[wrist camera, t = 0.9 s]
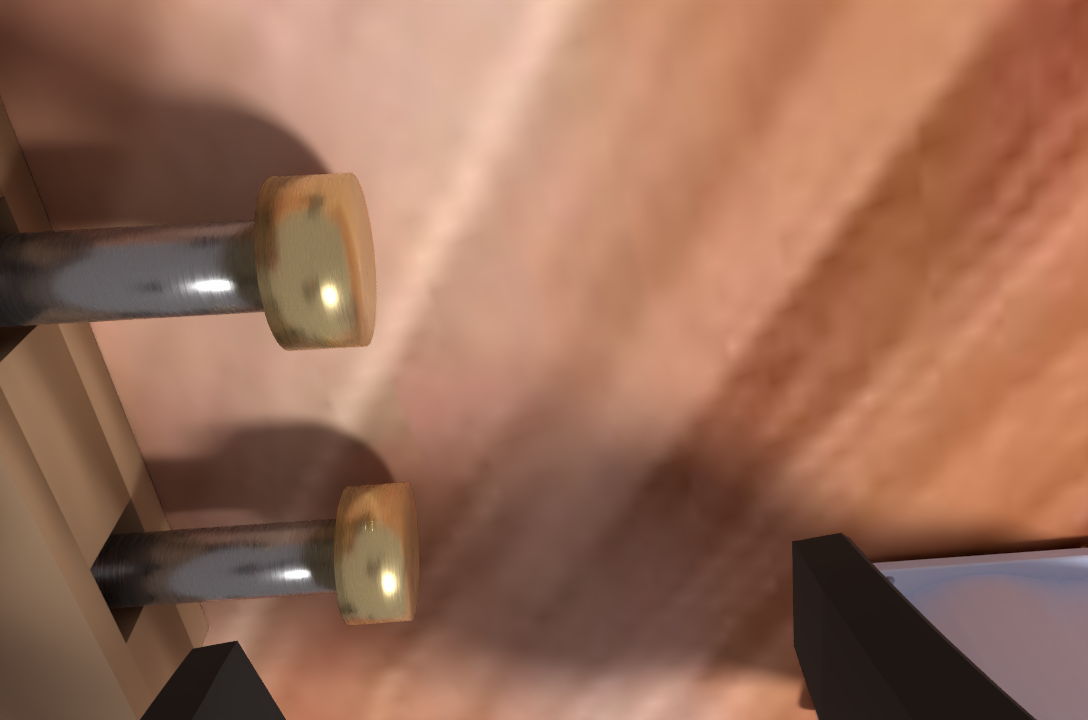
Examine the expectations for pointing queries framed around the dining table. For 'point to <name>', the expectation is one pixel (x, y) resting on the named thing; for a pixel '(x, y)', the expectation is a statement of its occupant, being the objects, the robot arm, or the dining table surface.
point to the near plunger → (211, 268)
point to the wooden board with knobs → (70, 516)
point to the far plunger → (279, 560)
